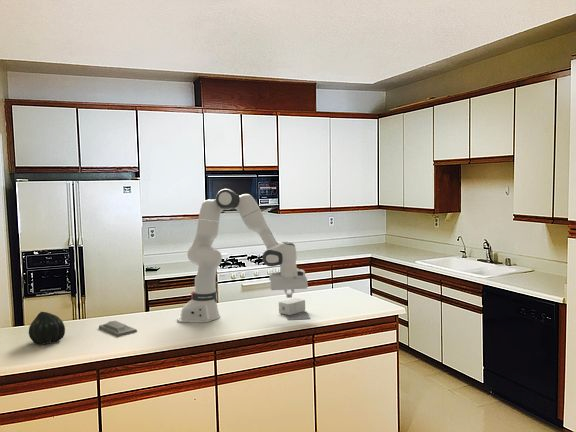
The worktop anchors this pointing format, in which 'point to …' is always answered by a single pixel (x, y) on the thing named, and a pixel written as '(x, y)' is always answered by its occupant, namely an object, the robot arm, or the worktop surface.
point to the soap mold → (117, 328)
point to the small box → (291, 306)
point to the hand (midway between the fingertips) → (289, 297)
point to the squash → (46, 328)
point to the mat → (298, 316)
